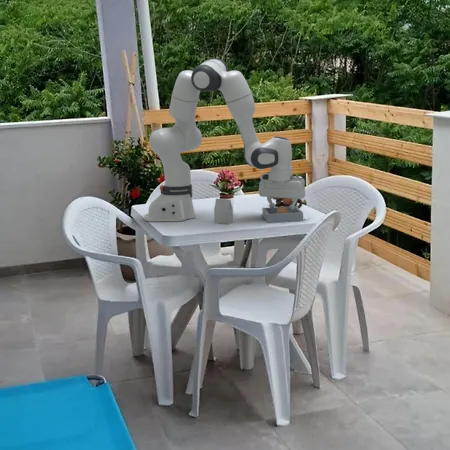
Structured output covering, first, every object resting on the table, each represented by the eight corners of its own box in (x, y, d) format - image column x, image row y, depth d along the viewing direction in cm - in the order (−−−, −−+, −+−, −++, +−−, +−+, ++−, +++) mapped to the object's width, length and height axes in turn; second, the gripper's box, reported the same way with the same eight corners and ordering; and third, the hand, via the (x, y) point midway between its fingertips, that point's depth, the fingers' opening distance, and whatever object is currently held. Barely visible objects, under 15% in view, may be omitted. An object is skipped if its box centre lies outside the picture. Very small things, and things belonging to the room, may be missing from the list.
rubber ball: (278, 219, 325) (277, 207, 324) (274, 217, 330) (274, 205, 329) (289, 218, 326) (289, 206, 325) (286, 216, 331) (286, 204, 330)
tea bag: (228, 224, 320) (227, 200, 318) (214, 223, 324) (213, 199, 322) (233, 222, 323) (232, 198, 321) (219, 221, 327) (218, 197, 325)
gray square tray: (267, 222, 320) (266, 214, 320) (262, 215, 335) (262, 207, 334) (303, 221, 321) (303, 212, 321) (296, 214, 336) (296, 206, 335)
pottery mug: (277, 216, 335) (272, 198, 338) (279, 222, 344) (275, 204, 347) (304, 208, 334) (299, 191, 336) (306, 214, 343) (301, 197, 345)
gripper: (307, 175, 322) (307, 208, 325) (263, 173, 332) (264, 205, 335) (301, 177, 317) (301, 211, 319) (256, 175, 327) (257, 207, 330)
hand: (282, 208), depth 327 cm, fingers open, 8 cm apart
